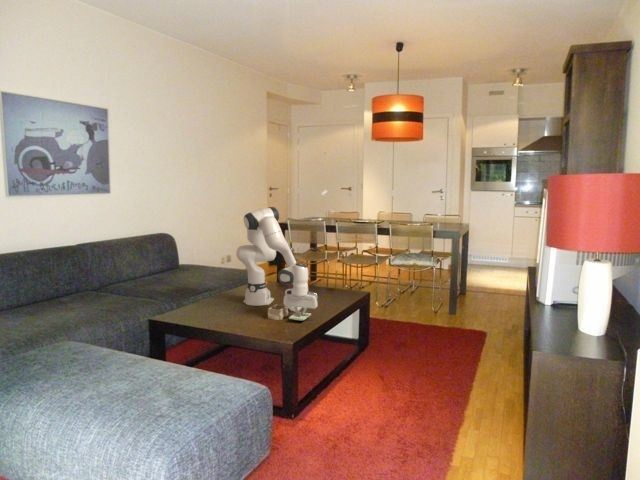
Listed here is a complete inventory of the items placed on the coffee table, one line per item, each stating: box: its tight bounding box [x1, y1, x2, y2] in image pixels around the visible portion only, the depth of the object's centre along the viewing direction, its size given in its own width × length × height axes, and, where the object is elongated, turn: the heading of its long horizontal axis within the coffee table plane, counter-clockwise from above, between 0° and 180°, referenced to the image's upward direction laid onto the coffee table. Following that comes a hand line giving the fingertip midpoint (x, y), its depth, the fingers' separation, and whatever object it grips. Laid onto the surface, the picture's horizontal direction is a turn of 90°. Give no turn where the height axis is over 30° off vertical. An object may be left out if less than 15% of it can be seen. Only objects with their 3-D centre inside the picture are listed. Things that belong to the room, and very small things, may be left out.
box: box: [267, 303, 289, 321], centre depth 296 cm, size 12×8×6 cm, turn 162°
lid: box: [288, 309, 312, 321], centre depth 289 cm, size 13×9×4 cm
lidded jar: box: [288, 306, 302, 313], centre depth 312 cm, size 11×11×9 cm
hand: (300, 314), depth 289 cm, fingers closed on lid, 2 cm apart
